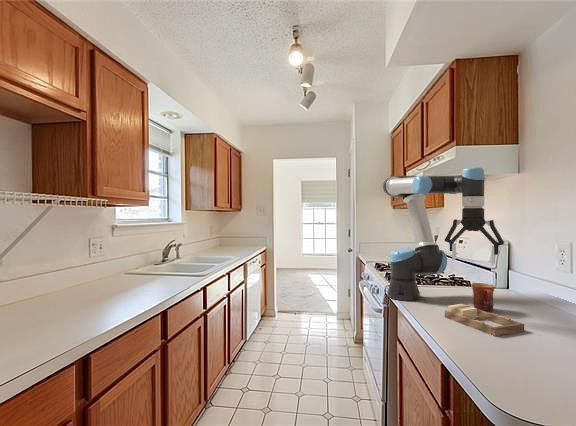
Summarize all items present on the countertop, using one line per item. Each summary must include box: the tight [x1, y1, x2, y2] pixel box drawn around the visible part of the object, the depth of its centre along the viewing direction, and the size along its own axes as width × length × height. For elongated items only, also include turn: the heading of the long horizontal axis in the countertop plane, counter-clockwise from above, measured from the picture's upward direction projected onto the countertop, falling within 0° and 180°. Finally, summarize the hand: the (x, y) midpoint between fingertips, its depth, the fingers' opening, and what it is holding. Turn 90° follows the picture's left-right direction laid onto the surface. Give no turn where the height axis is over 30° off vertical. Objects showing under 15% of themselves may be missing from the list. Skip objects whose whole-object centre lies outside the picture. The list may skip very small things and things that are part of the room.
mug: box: [470, 282, 496, 312], centre depth 132 cm, size 12×9×10 cm
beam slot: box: [444, 309, 525, 337], centre depth 116 cm, size 21×14×3 cm, turn 18°
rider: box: [447, 303, 478, 320], centre depth 124 cm, size 7×7×4 cm
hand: (473, 261), depth 125 cm, fingers open, 13 cm apart
